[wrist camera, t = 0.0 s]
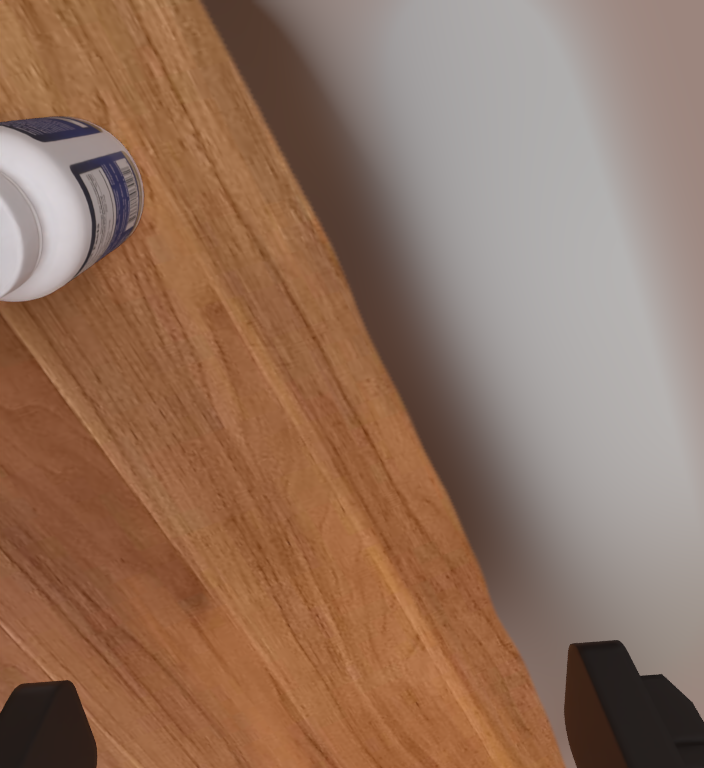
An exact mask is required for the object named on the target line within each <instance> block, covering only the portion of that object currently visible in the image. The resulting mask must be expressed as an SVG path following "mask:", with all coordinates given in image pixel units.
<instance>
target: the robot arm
mask: <svg viewBox="0 0 704 768" xmlns="http://www.w3.org/2000/svg"><path fill="white" fill-rule="evenodd" d="M564 715H565V725H566V731H567V736H568V741H569V745H570V748H571V751H572V754H573V757H574V760H575V763H576V766H577V768H704V722H703V720H702V718H701V717H700V715H699V713H698V711H697V710H696V708H695V706H694V704H693V703H692V702H691V701H690V700H689V699H688V698H687V697H686V696H685V695H684V694H683V693H682V692H680V691H679V690H678V689H677V688H676V687H675V686H674V685H673V684H672V683H671V682H670V681H669V680H667V678H665V677H664V676H663V675H662V674H659V675H646V676H640V675H639V673H638V671H637V669H636V667H635V665H634V663H633V661H632V659H631V657H630V655H629V653H628V652H627V650H626V648H625V646H624V645H623V644H622V643H621V642H620V641H618V640H613V641H600V642H587V643H574V644H570V646H569V650H568V662H567V676H566V692H565V705H564ZM96 766H97V747H96V742H95V739H94V736H93V734H92V731H91V728H90V726H89V723H88V720H87V718H86V715H85V712H84V710H83V707H82V704H81V702H80V699H79V696H78V694H77V691H76V688H75V686H74V684H73V683H72V682H71V681H68V680H65V681H52V682H39V683H26V684H21V685H19V686H18V687H16V688H15V689H14V691H13V692H12V693H11V695H10V697H9V698H8V700H7V702H6V704H5V706H4V708H3V709H2V711H1V713H0V768H96Z"/></svg>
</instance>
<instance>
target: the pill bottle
mask: <svg viewBox="0 0 704 768" xmlns="http://www.w3.org/2000/svg"><path fill="white" fill-rule="evenodd" d="M143 203H144V190H143V183H142V179H141V175H140V172H139V170H138V167H137V165H136V163H135V161H134V160H133V158H132V156H131V155H130V153H129V152H128V151H127V149H126V148H125V147H124V146H123V145H122V143H121V142H120V141H119V140H118V139H117V138H115V137H114V136H113V135H112V134H110V133H109V132H108V131H106V130H104V129H103V128H101V127H99V126H97V125H95V124H93V123H91V122H88V121H86V120H82V119H79V118H73V117H60V116H59V117H45V118H35V119H26V120H17V121H7V122H0V301H9V302H21V301H29V300H33V299H38V298H41V297H44V296H46V295H48V294H51V293H52V292H54V291H56V290H58V289H59V288H61V287H62V286H64V285H65V284H67V283H68V282H70V281H71V280H72V279H74V278H75V277H77V276H78V275H79V274H81V273H82V272H84V271H85V270H87V269H88V268H89V267H91V266H92V265H93V264H94V263H96V262H97V261H99V260H100V259H101V258H103V257H104V256H106V255H107V254H108V253H110V252H111V251H113V250H114V249H116V248H117V247H118V246H120V245H121V244H122V243H123V242H124V241H125V240H126V239H128V237H129V236H130V235H131V234H132V233H133V231H134V230H135V228H136V227H137V225H138V223H139V220H140V217H141V214H142V210H143Z"/></svg>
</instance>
